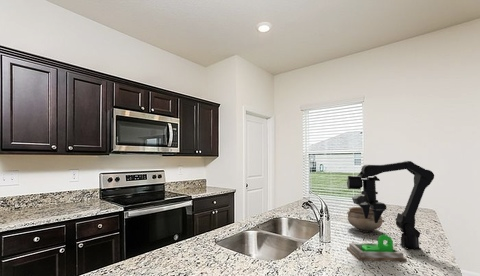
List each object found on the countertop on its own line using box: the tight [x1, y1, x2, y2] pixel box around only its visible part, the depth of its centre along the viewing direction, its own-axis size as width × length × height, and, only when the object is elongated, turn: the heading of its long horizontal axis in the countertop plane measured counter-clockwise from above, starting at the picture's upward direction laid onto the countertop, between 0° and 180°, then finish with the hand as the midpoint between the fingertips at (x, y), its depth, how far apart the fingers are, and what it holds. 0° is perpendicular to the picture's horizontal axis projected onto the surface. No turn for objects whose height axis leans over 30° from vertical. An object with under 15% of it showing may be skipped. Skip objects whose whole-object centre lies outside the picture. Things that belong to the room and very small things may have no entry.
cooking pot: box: [346, 206, 385, 233], centre depth 150 cm, size 25×19×12 cm
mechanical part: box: [362, 234, 394, 252], centre depth 113 cm, size 12×6×8 cm, turn 87°
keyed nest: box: [346, 242, 408, 262], centre depth 112 cm, size 20×13×3 cm, turn 88°
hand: (370, 220), depth 126 cm, fingers open, 9 cm apart
